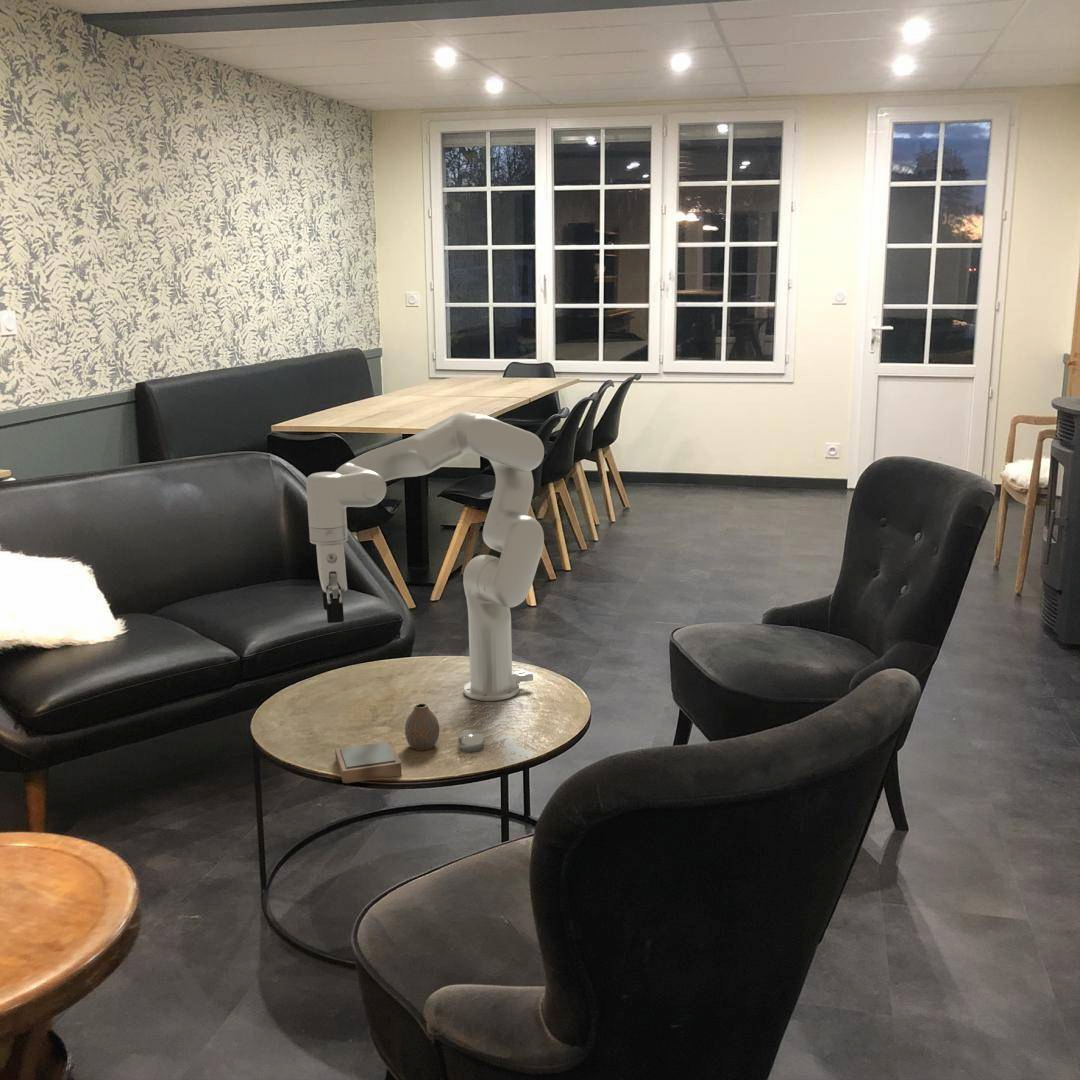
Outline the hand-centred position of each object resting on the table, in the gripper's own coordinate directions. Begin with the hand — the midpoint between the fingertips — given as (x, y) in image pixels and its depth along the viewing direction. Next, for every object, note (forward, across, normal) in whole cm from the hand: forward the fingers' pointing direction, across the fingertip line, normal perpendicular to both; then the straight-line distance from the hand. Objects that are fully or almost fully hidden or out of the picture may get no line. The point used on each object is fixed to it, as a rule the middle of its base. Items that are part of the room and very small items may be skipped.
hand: (333, 615), depth 228 cm
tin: (+25, -18, -24) cm, 39 cm away
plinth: (+25, -21, -3) cm, 33 cm away
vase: (+25, -14, -15) cm, 32 cm away
